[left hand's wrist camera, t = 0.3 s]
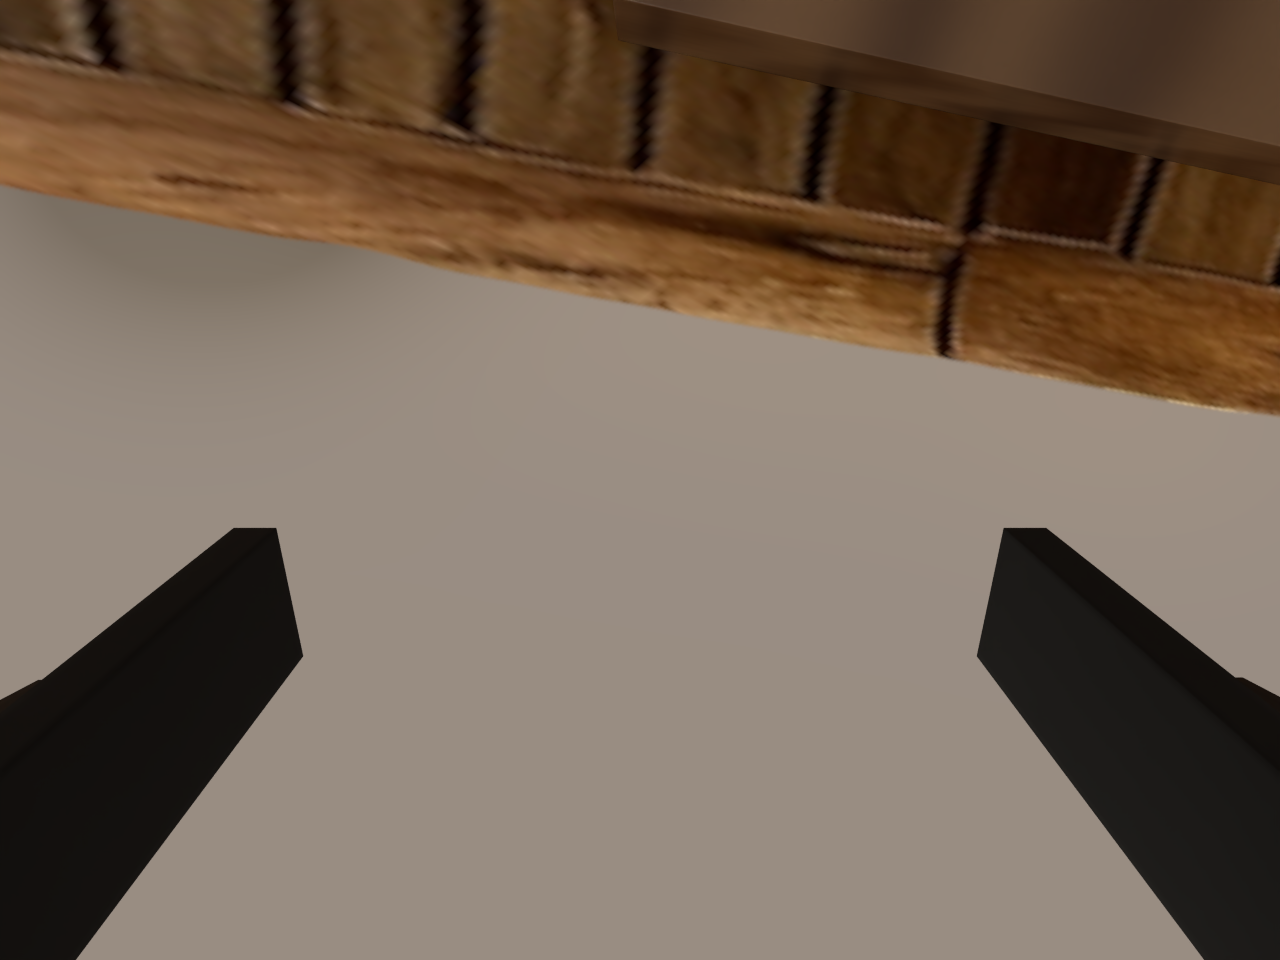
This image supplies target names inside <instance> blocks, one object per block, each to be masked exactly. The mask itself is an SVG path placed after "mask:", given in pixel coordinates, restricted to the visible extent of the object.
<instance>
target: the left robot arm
mask: <svg viewBox="0 0 1280 960" xmlns="http://www.w3.org/2000/svg"><path fill="white" fill-rule="evenodd" d="M302 657H303V653H302V648H301V643H300V639H299V634H298V629H297V624H296V620H295V615H294V610H293V605H292V601H291V596H290V591H289V586H288V582H287V577H286V572H285V568H284V563H283V558H282V553H281V548H280V544H279V539H278V534H277V529H276V528H233V529H232V530H231V531H229V532H228V533H227V534H226V535H224V536H223V537H222V538H221V539H219V540H218V541H217V542H216V543H214V544H213V545H212V546H210V547H209V548H208V549H207V550H205V551H204V552H203V553H202V554H200V555H199V556H198V557H197V558H195V559H194V560H193V561H191V562H190V563H189V564H188V565H186V566H185V567H184V568H183V569H181V570H180V571H179V572H178V573H176V574H175V575H174V576H173V577H171V578H170V579H169V580H168V581H166V582H165V583H164V584H162V585H161V586H160V587H159V588H157V589H156V590H155V591H154V592H152V593H151V594H150V595H149V596H147V597H146V598H145V599H143V600H142V601H141V602H140V603H138V604H137V605H136V606H135V607H133V608H132V609H131V610H130V611H128V612H127V613H126V614H125V615H123V616H122V617H121V618H119V619H118V620H117V621H116V622H114V623H113V624H112V625H111V626H109V627H108V628H107V629H106V630H104V631H103V632H102V633H101V634H99V635H98V636H97V637H95V638H94V639H93V640H92V641H90V642H89V643H88V644H87V645H85V646H84V647H83V648H82V649H80V650H79V651H78V652H77V653H75V654H74V655H73V656H72V657H70V658H69V659H68V660H66V661H65V662H64V663H63V664H61V665H60V666H59V667H58V668H56V669H55V670H54V671H53V672H51V673H50V674H49V675H47V676H46V677H45V678H44V679H42V680H37V681H35V682H34V683H32V684H30V685H28V686H26V687H24V688H22V689H20V690H18V691H16V692H14V693H13V694H11V695H9V696H7V697H5V698H3V699H1V700H0V960H76V959H77V957H78V956H79V955H80V954H81V952H82V951H83V949H84V948H85V947H86V945H87V944H88V943H89V941H90V940H91V939H92V938H93V936H94V935H95V933H96V932H97V931H98V929H99V928H100V927H101V925H102V924H103V923H104V921H105V920H106V919H107V917H108V916H109V915H110V913H111V912H112V911H113V909H114V908H115V907H116V905H117V904H118V903H119V901H120V900H121V899H122V897H123V896H124V895H125V893H126V892H127V891H128V889H129V888H130V887H131V885H132V884H133V883H134V881H135V880H136V879H137V877H138V876H139V875H140V873H141V872H142V871H143V869H144V868H145V867H146V865H147V864H148V863H149V861H150V860H151V859H152V857H153V856H154V855H155V853H156V852H157V851H158V849H159V848H160V847H161V845H162V844H163V843H164V841H165V840H166V839H167V837H168V836H169V835H170V833H171V832H172V831H173V829H174V828H175V827H176V825H177V824H178V823H179V821H180V820H181V819H182V817H183V816H184V815H185V813H186V812H187V811H188V809H189V808H190V807H191V805H192V804H193V803H194V801H195V800H196V799H197V797H198V796H199V795H200V793H201V792H202V791H203V789H204V788H205V787H206V785H207V784H208V783H209V781H210V780H211V779H212V777H213V776H214V774H215V773H216V772H217V771H218V769H219V768H220V766H221V765H222V764H223V763H224V761H225V760H226V759H227V757H228V756H229V755H230V753H231V752H232V751H233V749H234V748H235V746H236V745H237V744H238V743H239V741H240V740H241V739H242V737H243V736H244V735H245V733H246V732H247V731H248V729H249V728H250V726H251V725H252V724H253V723H254V721H255V720H256V718H257V717H258V716H259V714H260V713H261V712H262V710H263V709H264V708H265V706H266V705H267V704H268V702H269V701H270V700H271V698H272V697H273V696H274V694H275V693H276V692H277V690H278V689H279V688H280V686H281V685H282V684H283V682H284V681H285V680H286V678H287V677H288V676H289V674H290V673H291V672H292V670H293V669H294V668H295V666H296V665H297V664H298V662H299V661H300V660H301V658H302ZM977 657H978V658H979V660H980V661H981V662H982V664H983V665H984V666H985V668H986V669H987V670H988V672H989V673H990V674H991V676H992V677H993V678H994V680H995V681H996V682H997V684H998V685H999V686H1000V688H1001V689H1002V690H1003V692H1004V693H1005V694H1006V696H1007V697H1008V698H1009V700H1010V701H1011V702H1012V704H1013V705H1014V706H1015V708H1016V709H1017V710H1018V712H1019V713H1020V714H1021V716H1022V717H1023V718H1024V720H1025V721H1026V722H1027V724H1028V725H1029V727H1030V728H1031V729H1032V730H1033V732H1034V733H1035V735H1036V736H1037V737H1038V739H1039V740H1040V741H1041V743H1042V744H1043V745H1044V747H1045V748H1046V749H1047V751H1048V752H1049V753H1050V755H1051V756H1052V757H1053V759H1054V760H1055V761H1056V763H1057V764H1058V765H1059V767H1060V768H1061V769H1062V771H1063V772H1064V773H1065V775H1066V776H1067V777H1068V778H1069V780H1070V781H1071V783H1072V784H1073V785H1074V787H1075V788H1076V789H1077V791H1078V792H1079V793H1080V795H1081V796H1082V797H1083V799H1084V800H1085V801H1086V803H1087V804H1088V805H1089V807H1090V808H1091V809H1092V811H1093V812H1094V813H1095V815H1096V816H1097V817H1098V819H1099V820H1100V821H1101V823H1102V824H1103V825H1104V827H1105V828H1106V829H1107V831H1108V832H1109V833H1110V835H1111V836H1112V837H1113V839H1114V840H1115V841H1116V843H1117V844H1118V845H1119V847H1120V848H1121V849H1122V851H1123V852H1124V853H1125V855H1126V856H1127V857H1128V859H1129V860H1130V861H1131V863H1132V864H1133V865H1134V867H1135V868H1136V869H1137V871H1138V872H1139V873H1140V875H1141V876H1142V877H1143V879H1144V880H1145V881H1146V883H1147V884H1148V885H1149V887H1150V888H1151V889H1152V891H1153V892H1154V893H1155V895H1156V896H1157V897H1158V899H1159V900H1160V901H1161V903H1162V904H1163V905H1164V907H1165V908H1166V909H1167V911H1168V912H1169V913H1170V915H1171V916H1172V917H1173V919H1174V920H1175V921H1176V923H1177V924H1178V925H1179V927H1180V928H1181V929H1182V931H1183V932H1184V933H1185V935H1186V936H1187V937H1188V939H1189V940H1190V941H1191V943H1192V944H1193V946H1194V947H1195V948H1196V949H1197V951H1198V952H1199V953H1200V955H1201V956H1202V957H1203V959H1204V960H1280V697H1279V696H1277V695H1275V694H1273V693H1271V692H1269V691H1267V690H1266V689H1264V688H1262V687H1260V686H1258V685H1256V684H1254V683H1252V682H1250V681H1248V680H1246V679H1245V678H1235V677H1234V676H1233V675H1231V674H1230V673H1229V672H1227V671H1226V670H1225V669H1224V668H1222V667H1221V666H1220V665H1219V664H1217V663H1216V662H1215V661H1214V660H1212V659H1211V658H1210V657H1208V656H1207V655H1206V654H1205V653H1203V652H1202V651H1201V650H1200V649H1198V648H1197V647H1196V646H1195V645H1193V644H1192V643H1191V642H1190V641H1188V640H1187V639H1186V638H1184V637H1183V636H1182V635H1181V634H1179V633H1178V632H1177V631H1176V630H1174V629H1173V628H1172V627H1171V626H1169V625H1168V624H1167V623H1166V622H1164V621H1163V620H1162V619H1161V618H1159V617H1158V616H1157V615H1155V614H1154V613H1153V612H1152V611H1150V610H1149V609H1148V608H1147V607H1145V606H1144V605H1143V604H1142V603H1140V602H1139V601H1138V600H1137V599H1135V598H1134V597H1133V596H1131V595H1130V594H1129V593H1128V592H1126V591H1125V590H1124V589H1123V588H1121V587H1120V586H1119V585H1118V584H1116V583H1115V582H1114V581H1112V580H1111V579H1110V578H1109V577H1107V576H1106V575H1105V574H1104V573H1102V572H1101V571H1100V570H1099V569H1097V568H1096V567H1095V566H1094V565H1092V564H1091V563H1090V562H1089V561H1087V560H1086V559H1085V558H1083V557H1082V556H1081V555H1080V554H1078V553H1077V552H1076V551H1075V550H1073V549H1072V548H1071V547H1070V546H1068V545H1067V544H1066V543H1065V542H1063V541H1062V540H1061V539H1059V538H1058V537H1057V536H1056V535H1054V534H1053V533H1052V532H1051V531H1049V530H1048V529H1047V528H1004V529H1003V534H1002V539H1001V543H1000V548H999V553H998V558H997V563H996V567H995V572H994V577H993V582H992V586H991V591H990V596H989V601H988V605H987V610H986V615H985V620H984V624H983V629H982V634H981V639H980V643H979V648H978V653H977Z"/></svg>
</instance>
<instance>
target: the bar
mask: <svg viewBox="0 0 1280 960" xmlns="http://www.w3.org/2000/svg"><path fill="white" fill-rule="evenodd" d="M613 3H614V11H615V19H616V26H617V34H618V40H620V41H625V42H629V43H634V44H638V45H643V46H648V47H652V48H657V49H661V50H666V51H670V52H675V53H679V54H684V55H689V56H693V57H698V58H702V59H707V60H711V61H716V62H721V63H725V64H730V65H734V66H739V67H743V68H748V69H753V70H757V71H762V72H766V73H771V74H775V75H780V76H785V77H789V78H794V79H798V80H803V81H807V82H812V83H817V84H821V85H826V86H830V87H835V88H839V89H844V90H848V91H853V92H858V93H862V94H867V95H871V96H876V97H880V98H885V99H890V100H894V101H899V102H903V103H908V104H912V105H917V106H922V107H926V108H931V109H935V110H940V111H944V112H949V113H954V114H958V115H963V116H967V117H972V118H976V119H981V120H986V121H990V122H995V123H999V124H1004V125H1008V126H1013V127H1017V128H1022V129H1027V130H1031V131H1036V132H1040V133H1045V134H1049V135H1054V136H1059V137H1063V138H1068V139H1072V140H1077V141H1081V142H1086V143H1091V144H1095V145H1100V146H1104V147H1109V148H1113V149H1118V150H1123V151H1127V152H1132V153H1136V154H1141V155H1145V156H1150V157H1155V158H1159V159H1164V160H1168V161H1173V162H1177V163H1182V164H1187V165H1191V166H1196V167H1200V168H1205V169H1209V170H1214V171H1218V172H1223V173H1228V174H1232V175H1237V176H1241V177H1246V178H1250V179H1255V180H1260V181H1264V182H1269V183H1273V184H1278V185H1280V0H613Z"/></svg>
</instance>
